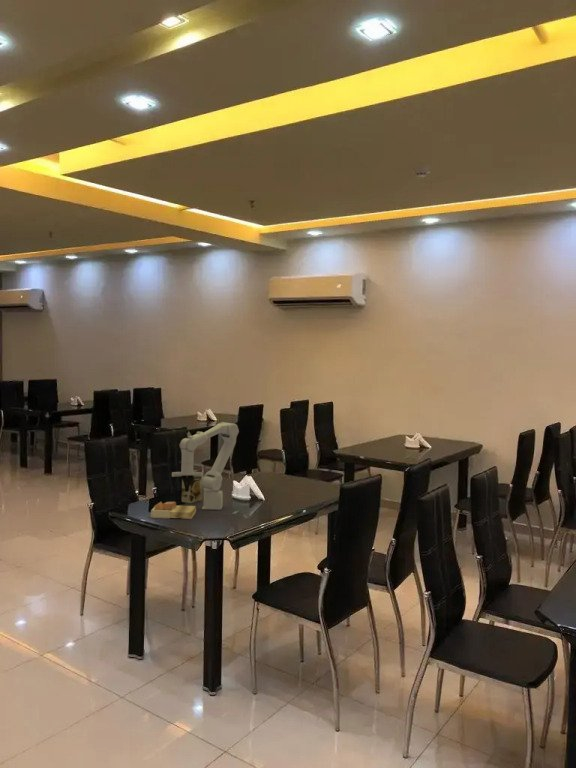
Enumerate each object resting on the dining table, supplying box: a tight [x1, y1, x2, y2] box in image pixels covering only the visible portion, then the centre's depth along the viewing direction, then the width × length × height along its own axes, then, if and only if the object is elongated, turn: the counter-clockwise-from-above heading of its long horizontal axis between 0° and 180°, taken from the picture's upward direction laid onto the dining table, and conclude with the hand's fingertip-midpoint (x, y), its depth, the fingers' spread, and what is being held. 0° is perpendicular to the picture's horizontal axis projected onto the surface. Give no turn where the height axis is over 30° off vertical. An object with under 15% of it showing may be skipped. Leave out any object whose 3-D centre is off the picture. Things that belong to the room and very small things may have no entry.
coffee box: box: [181, 468, 203, 504], centre depth 324 cm, size 9×6×16 cm
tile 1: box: [153, 501, 166, 510], centre depth 296 cm, size 4×4×2 cm
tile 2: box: [162, 501, 177, 509], centre depth 297 cm, size 4×4×2 cm
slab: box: [169, 505, 197, 520], centre depth 295 cm, size 10×13×3 cm
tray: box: [150, 506, 172, 519], centre depth 295 cm, size 9×13×4 cm
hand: (186, 491), depth 300 cm, fingers closed
